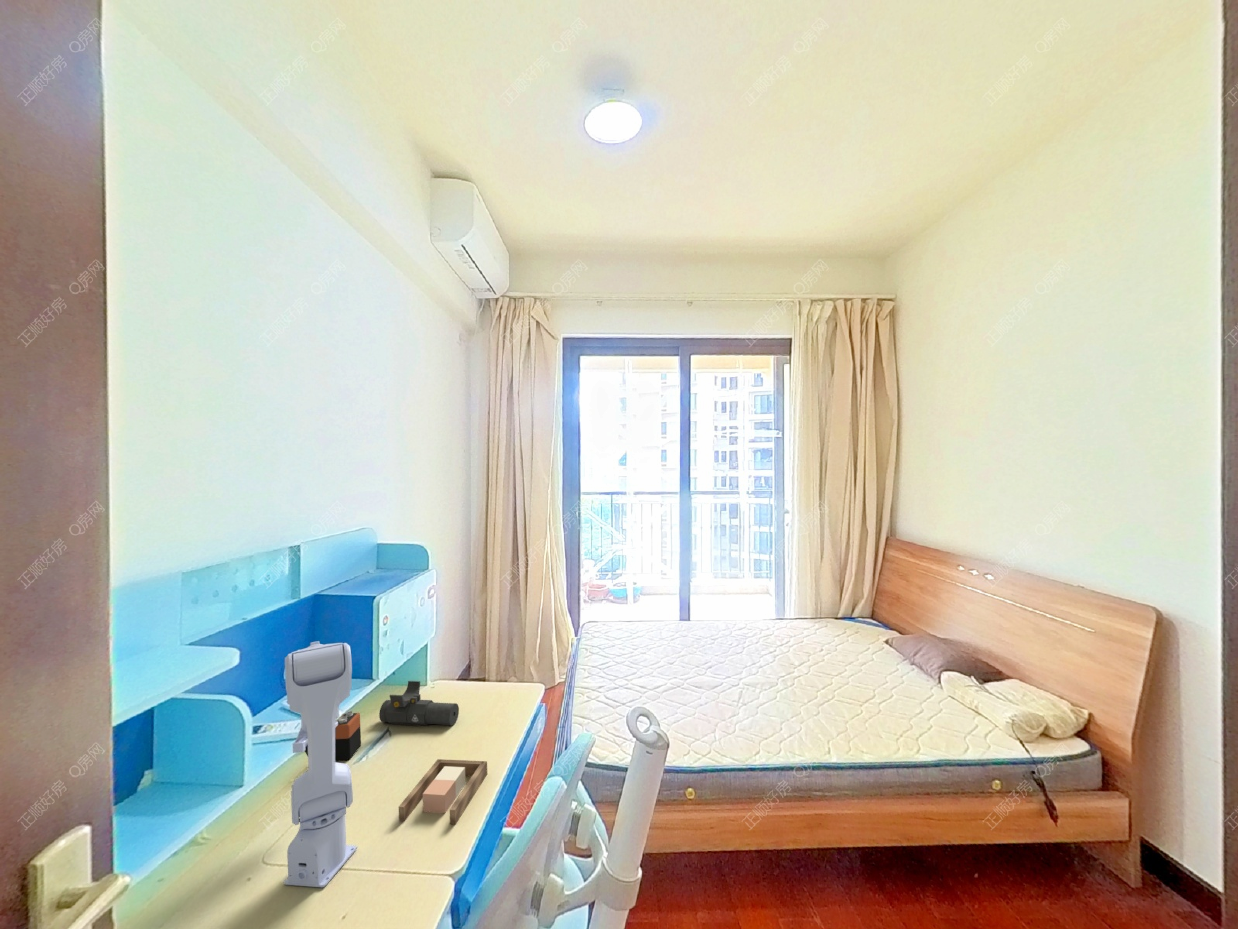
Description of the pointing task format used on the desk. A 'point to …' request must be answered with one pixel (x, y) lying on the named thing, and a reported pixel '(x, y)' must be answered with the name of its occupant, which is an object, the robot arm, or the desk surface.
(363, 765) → the desk surface
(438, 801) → the pink cube-like block
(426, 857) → the desk surface
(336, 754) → the battery
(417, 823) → the desk surface
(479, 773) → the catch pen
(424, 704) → the laser sight
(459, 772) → the tile far
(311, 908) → the desk surface
